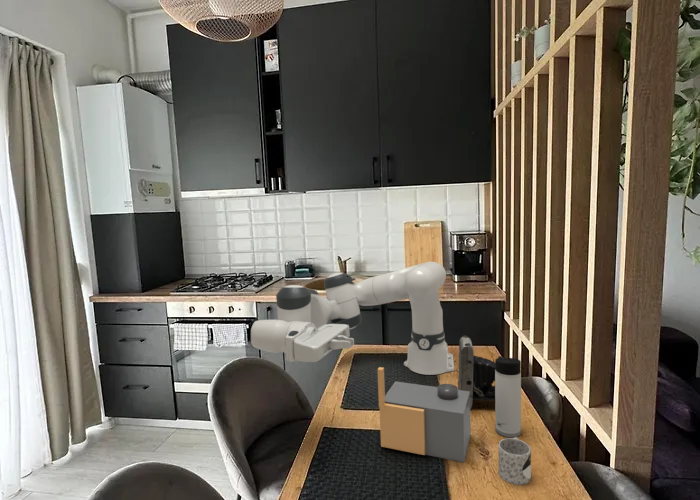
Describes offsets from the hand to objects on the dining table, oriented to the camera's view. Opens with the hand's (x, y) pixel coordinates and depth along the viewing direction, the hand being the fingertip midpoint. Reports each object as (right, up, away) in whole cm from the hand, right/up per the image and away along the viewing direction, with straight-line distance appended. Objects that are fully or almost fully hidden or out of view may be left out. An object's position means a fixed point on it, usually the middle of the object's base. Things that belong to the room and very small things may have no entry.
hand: (351, 343), depth 102 cm
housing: (+19, -26, +3) cm, 32 cm away
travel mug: (+41, -25, +5) cm, 48 cm away
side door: (+12, -26, -2) cm, 29 cm away
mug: (+37, -26, -10) cm, 46 cm away
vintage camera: (+40, -23, +21) cm, 51 cm away
